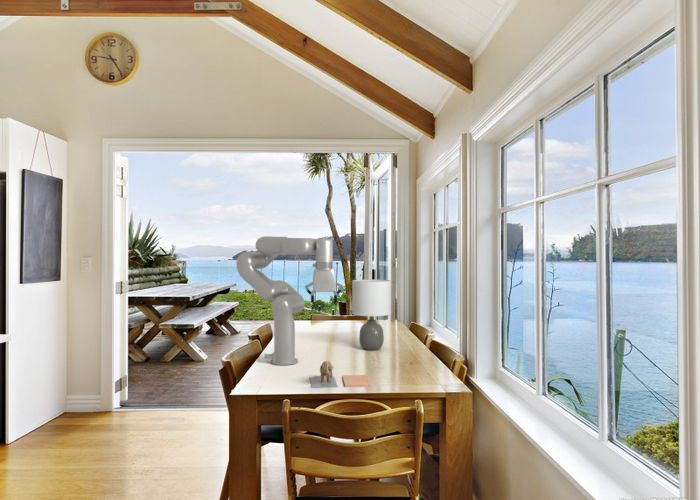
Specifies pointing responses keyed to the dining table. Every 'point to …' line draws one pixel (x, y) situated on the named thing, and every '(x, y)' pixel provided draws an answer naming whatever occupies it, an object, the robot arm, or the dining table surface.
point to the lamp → (371, 309)
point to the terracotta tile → (356, 381)
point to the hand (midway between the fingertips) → (324, 304)
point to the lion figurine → (326, 371)
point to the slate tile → (317, 382)
